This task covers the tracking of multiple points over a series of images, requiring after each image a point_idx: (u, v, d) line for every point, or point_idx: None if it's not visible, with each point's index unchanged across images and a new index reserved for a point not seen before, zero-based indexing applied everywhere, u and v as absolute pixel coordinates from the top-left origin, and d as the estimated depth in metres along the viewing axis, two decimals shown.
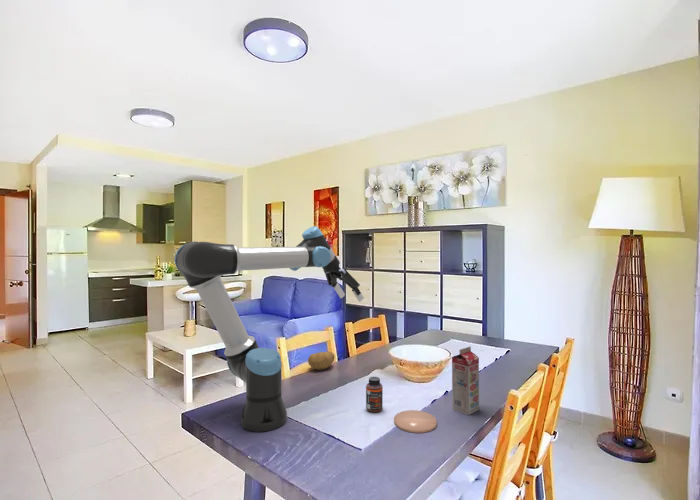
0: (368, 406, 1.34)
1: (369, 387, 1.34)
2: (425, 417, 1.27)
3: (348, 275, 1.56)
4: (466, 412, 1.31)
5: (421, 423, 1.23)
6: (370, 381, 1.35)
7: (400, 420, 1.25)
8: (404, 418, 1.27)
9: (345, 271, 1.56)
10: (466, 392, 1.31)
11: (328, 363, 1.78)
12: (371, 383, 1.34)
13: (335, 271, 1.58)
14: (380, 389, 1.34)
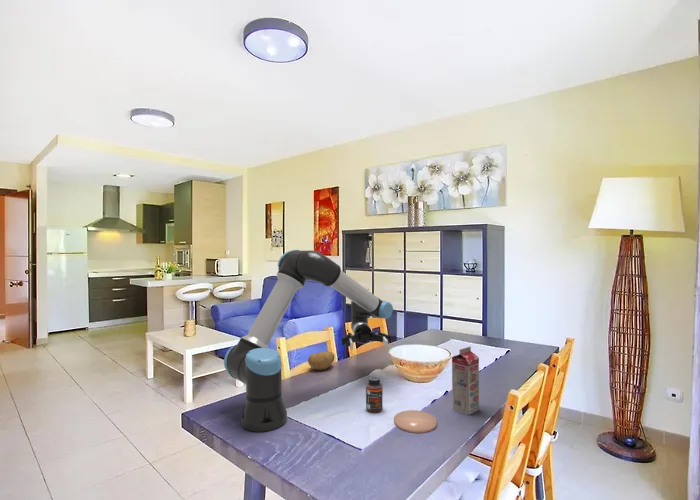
0: (368, 406, 1.34)
1: (369, 387, 1.34)
2: (425, 417, 1.27)
3: None
4: (466, 412, 1.31)
5: (421, 423, 1.23)
6: (370, 381, 1.35)
7: (400, 420, 1.25)
8: (404, 418, 1.27)
9: None
10: (466, 392, 1.31)
11: (328, 363, 1.78)
12: (371, 383, 1.34)
13: None
14: (380, 389, 1.34)
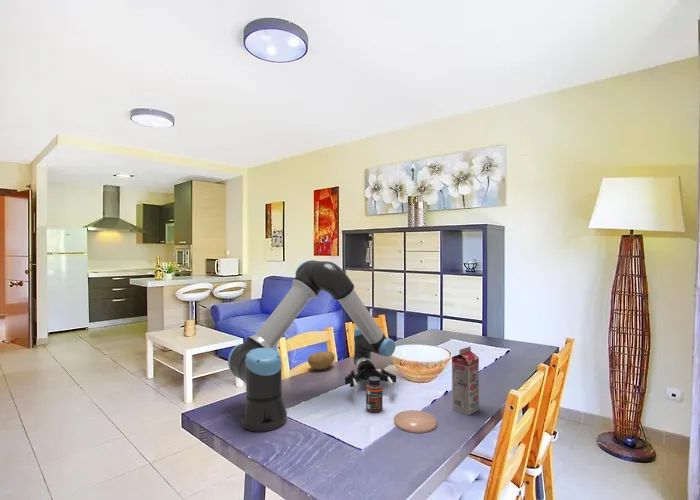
0: (368, 406, 1.34)
1: (369, 387, 1.34)
2: (425, 417, 1.27)
3: None
4: (466, 412, 1.31)
5: (421, 423, 1.23)
6: (370, 381, 1.35)
7: (400, 420, 1.25)
8: (404, 418, 1.27)
9: None
10: (466, 391, 1.31)
11: (328, 363, 1.78)
12: (371, 383, 1.34)
13: None
14: (380, 389, 1.34)
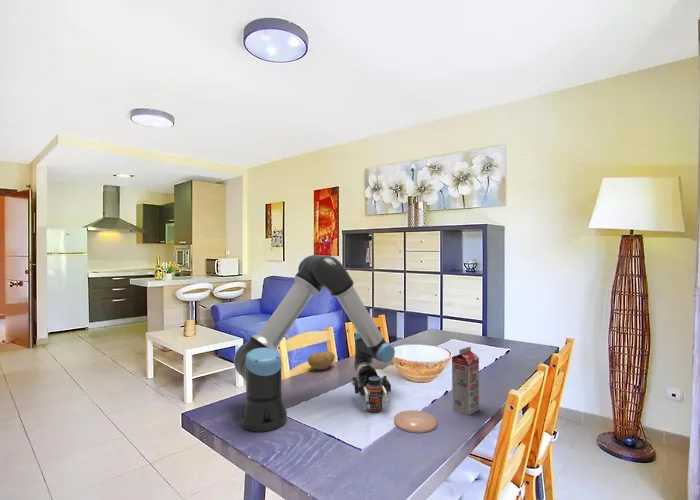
0: (368, 406, 1.34)
1: (369, 387, 1.34)
2: (425, 417, 1.27)
3: None
4: (466, 412, 1.31)
5: (421, 423, 1.23)
6: (370, 381, 1.35)
7: (400, 420, 1.25)
8: (404, 418, 1.27)
9: None
10: (466, 392, 1.31)
11: (328, 363, 1.78)
12: (370, 383, 1.34)
13: (375, 375, 1.49)
14: (380, 389, 1.34)
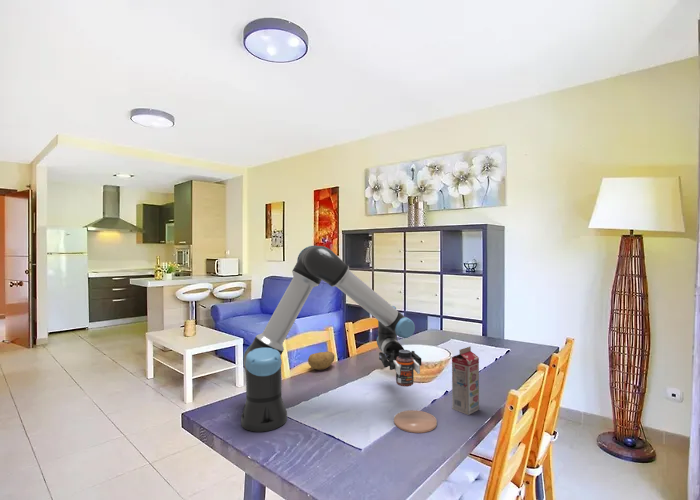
0: (399, 380, 1.27)
1: (400, 360, 1.27)
2: (425, 417, 1.27)
3: None
4: (466, 412, 1.31)
5: (421, 423, 1.23)
6: (401, 354, 1.28)
7: (400, 420, 1.25)
8: (404, 418, 1.27)
9: None
10: (466, 391, 1.31)
11: (328, 363, 1.78)
12: (401, 356, 1.28)
13: None
14: (411, 362, 1.27)
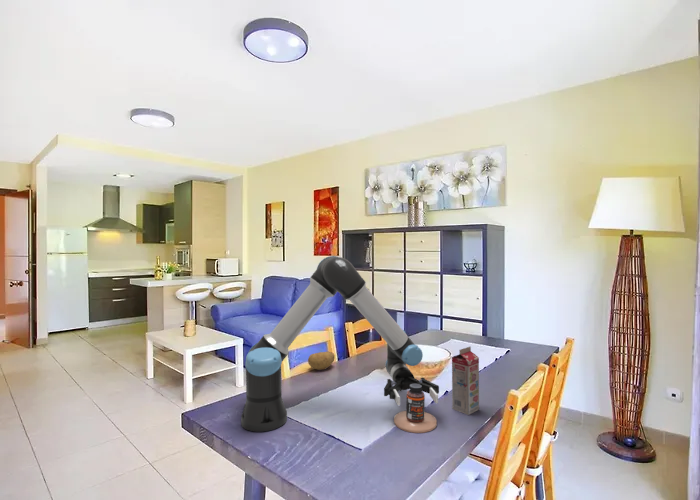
0: (409, 416, 1.24)
1: (410, 395, 1.24)
2: (425, 417, 1.27)
3: None
4: (466, 412, 1.31)
5: (421, 423, 1.23)
6: (411, 388, 1.25)
7: (400, 420, 1.25)
8: (404, 418, 1.27)
9: None
10: (466, 392, 1.31)
11: (328, 363, 1.78)
12: (412, 390, 1.24)
13: None
14: (422, 397, 1.24)
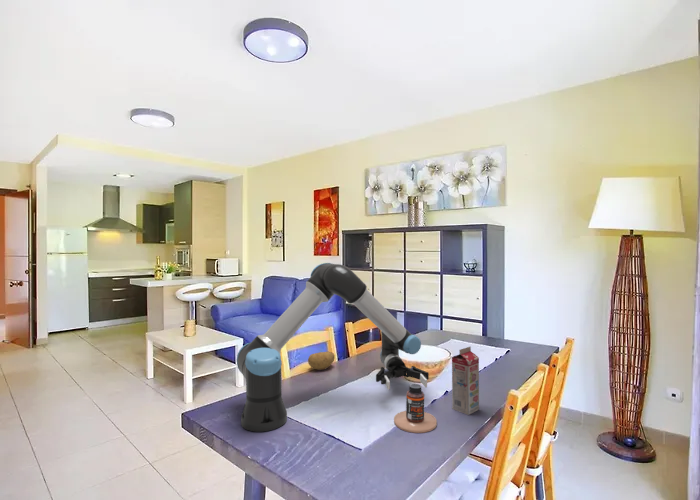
0: (409, 416, 1.24)
1: (410, 395, 1.24)
2: (425, 417, 1.27)
3: None
4: (466, 412, 1.31)
5: (421, 423, 1.23)
6: (411, 389, 1.24)
7: (400, 420, 1.25)
8: (404, 418, 1.27)
9: None
10: (466, 392, 1.31)
11: (328, 363, 1.78)
12: (412, 391, 1.24)
13: None
14: (422, 397, 1.24)
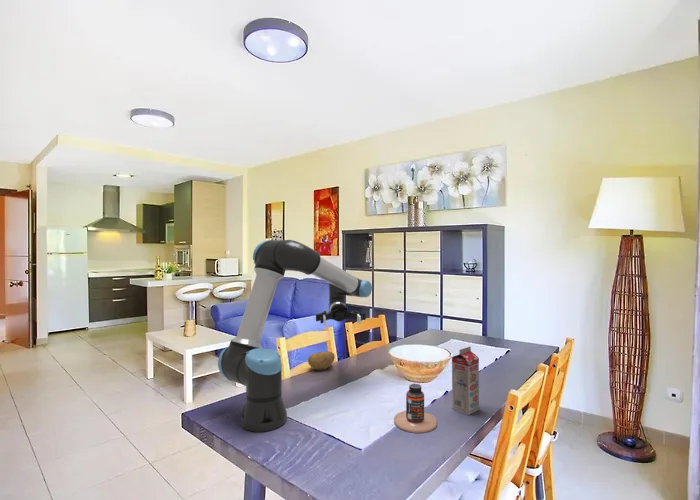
0: (409, 416, 1.24)
1: (410, 395, 1.24)
2: (425, 417, 1.27)
3: None
4: (466, 412, 1.31)
5: (421, 423, 1.23)
6: (411, 389, 1.24)
7: (400, 420, 1.25)
8: (404, 418, 1.27)
9: None
10: (466, 392, 1.31)
11: (328, 363, 1.78)
12: (412, 391, 1.24)
13: None
14: (422, 397, 1.24)
